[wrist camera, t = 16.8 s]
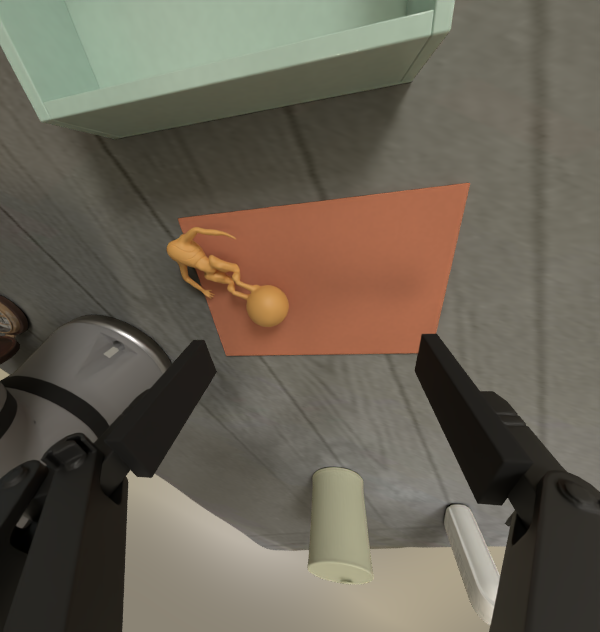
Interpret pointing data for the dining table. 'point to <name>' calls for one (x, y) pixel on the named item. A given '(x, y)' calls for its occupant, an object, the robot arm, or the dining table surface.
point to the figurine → (228, 278)
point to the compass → (10, 328)
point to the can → (339, 528)
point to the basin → (208, 56)
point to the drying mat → (337, 271)
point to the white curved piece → (472, 560)
